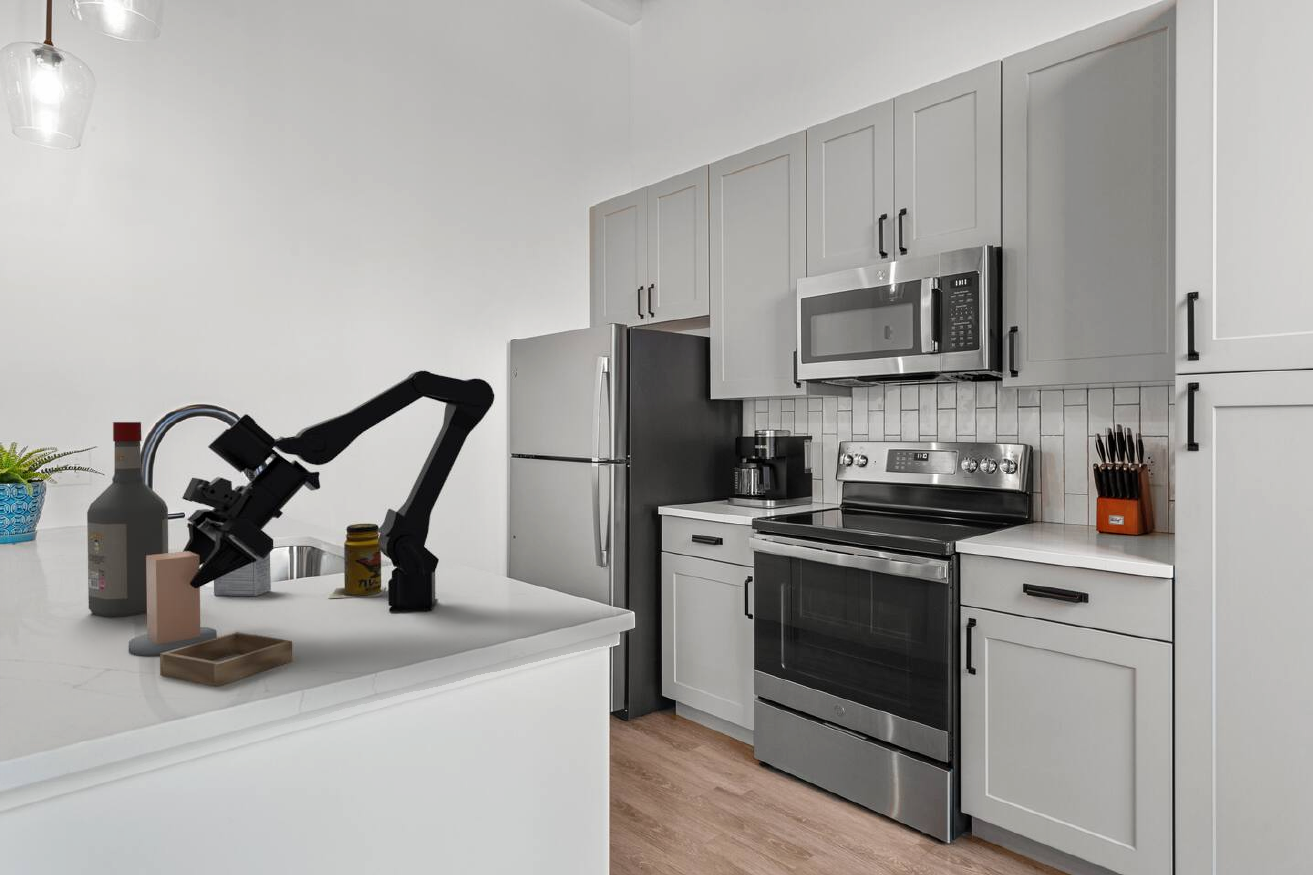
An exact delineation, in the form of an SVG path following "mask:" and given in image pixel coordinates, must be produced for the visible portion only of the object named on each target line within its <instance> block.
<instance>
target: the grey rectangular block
mask: <svg viewBox="0 0 1313 875" xmlns="http://www.w3.org/2000/svg"><path fill="white" fill-rule="evenodd" d="M253 557H254V558H256V559H257V561H256V562H255V563H250V564H248V565H246V566H243V567H241V568H239V569H237V570H235V571H232V572H230V573H228V574H226V575H224V576H222V577H220V578H218V579H215V580H213V595H214V596H243V597H251V596H252V597H257V596H260V595H264V594H266V593H269V592H271V591H272V580H271V579H272V577H271V552H270V553H269V554H268V555H267V556H266V557H265V559H264V560H263V559H260V558H257V557H256V556H253Z"/></svg>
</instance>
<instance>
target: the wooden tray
mask: <svg viewBox="0 0 1313 875" xmlns="http://www.w3.org/2000/svg"><path fill="white" fill-rule="evenodd" d="M235 654H240V655H238V656H235V657H231V658H228V659H225V660H221V661H215V660H217V659H221V658H224V657H228V656H230V655H235ZM290 662H293V640H289V639H282V638H275V637H270V636H262V635H258V634H251V633H244V632H238V631H236V632H233V633H229V634H225V635H222V636H217V638H214V639H211V640H207V641H203V642H200V643H196V644H193V645H189V646H186V647H182V648H178V649H175V650H171V651H168V652H164V653H161V654H160V655H159V671H160V672H159V675H161V676H166V677H169V678H174V679H179V680H186V681H190V682H195V683H198V684H199V683H200V684H203V685H204V684H205V685H209V686H212V687H213V686H214V687H221V686H223V685H227V684H229V683H232V682H235V681H238V680H240V679H244V678H246V677H249V676H252V675H255V674H258V673H261V672H264V671H267V670H269V669H274V668H276V667H278V666H281V665H284V664H287V663H290Z"/></svg>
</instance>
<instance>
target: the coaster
mask: <svg viewBox="0 0 1313 875" xmlns="http://www.w3.org/2000/svg"><path fill="white" fill-rule="evenodd" d="M214 638H218V631H217V629H215V628H212V627H208V626H207V627H206V626H200V637H196V638H190V639H185V640H179V641H174V642H168V643H163V644H156V643H154V642H153V641H152V640H151V639H149V638H148V637H147V633H144V634H140V635H139V636H136V637H134V638H131V639H130V640H129V641H128V652H129V654H132V655H136V656H160V654H161V653H164V652H168V651H171V650H175V649H178V648H182V647H186V646H189V645H193V644H196V643H200V642H203V641H207V640H211V639H214Z"/></svg>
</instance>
